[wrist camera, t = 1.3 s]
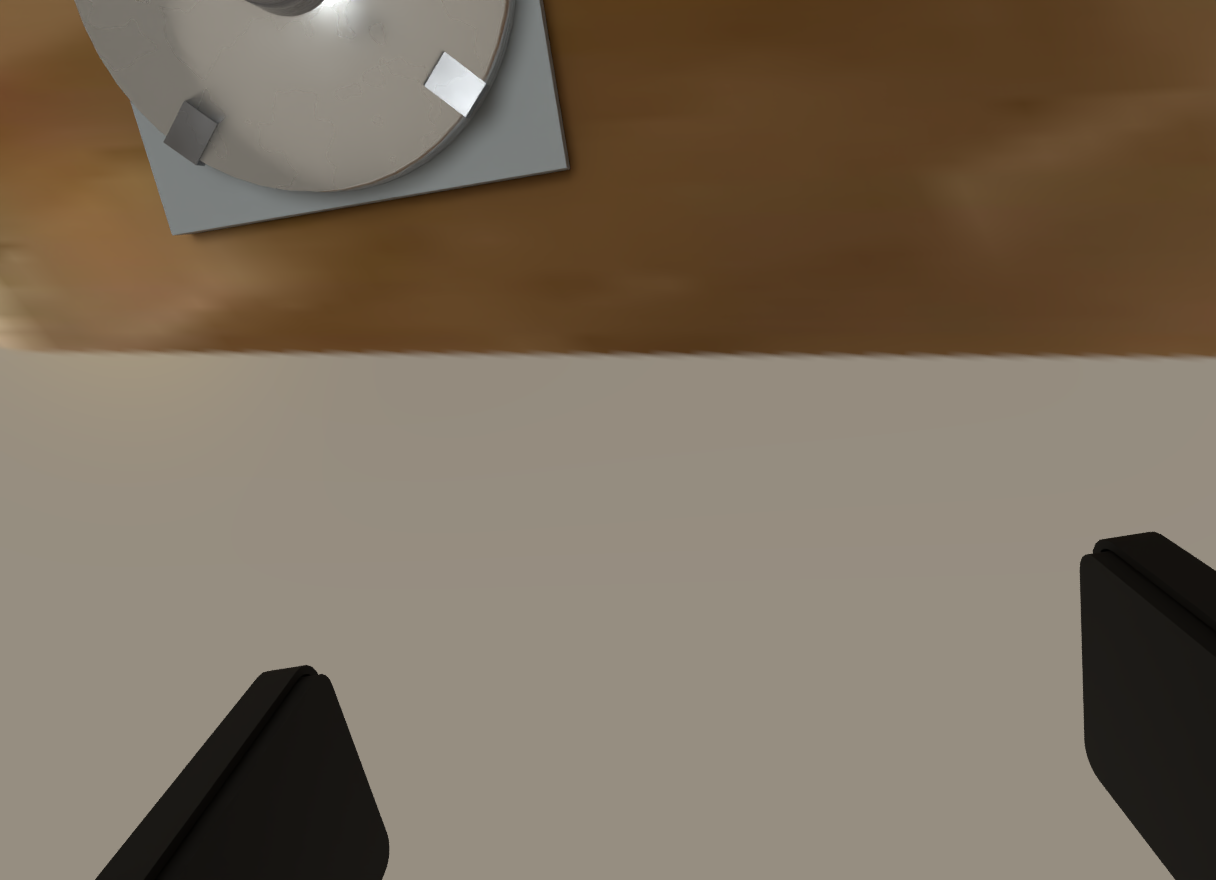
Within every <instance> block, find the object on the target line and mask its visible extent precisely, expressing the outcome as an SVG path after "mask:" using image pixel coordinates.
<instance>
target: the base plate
mask: <svg viewBox="0 0 1216 880" xmlns="http://www.w3.org/2000/svg"><path fill="white" fill-rule="evenodd" d="M130 102H131V101H130ZM131 105H132V108H133V111H134V115H135V118H136V121H137V124H138V127H139V131H140V134H141V137H142V140H143V143H144V146H145V150H146V153H147V156H148V159H149V162H150V166H151V169H152V172H153V175H154V178H155V182H156V185H157V188H158V191H159V194H160V198H161V201H162V204H163V207H164V210H165V214H166V217H167V220H168V223H169V226H170V230H171V233H172V235H183V234H194V233H200V232H206V231H212V230H218V229H224V228H230V227H235V226H241V225H247V224H253V223H259V222H265V221H271V220H276V219H282V218H288V217H294V216H300V215H306V214H311V213H317V212H323V211H329V210H335V209H341V208H347V207H352V206H358V205H364V204H370V203H376V202H382V201H388V200H393V199H399V198H405V197H411V196H417V195H423V194H429V193H434V192H440V191H446V190H452V189H458V188H464V187H470V186H475V185H481V184H487V183H493V182H499V181H505V180H511V179H516V178H522V177H528V176H534V175H540V174H546V173H552V172H557V171H563V170H569V169H570V165H569V159H568V152H567V146H566V140H565V134H564V128H563V122H562V116H561V109H560V103H559V97H558V91H557V85H556V79H555V73H554V67H553V60H552V54H551V48H550V42H549V36H548V30H547V24H546V17H545V11H544V5H543V0H515V9H514V17H513V24H512V28H511V32H510V36H509V40H508V45H507V49H506V52H505V55H504V58H503V60H502V63H501V66H500V68H499V71H498V74H497V76H496V79H495V81H494V83H493V85H492V87H491V88H490V90H489V92H488V94H487V96H486V98H485V100H484V102H483V104H482V105H481V106H480V108H479V109H478V111H477V112H476V113H475V115H474V116H473V118H472V119H471V120H470V122H469V123H468V125H467V126H466V127H465V128H464V129H463V130H462V131H461V132H460V133H459V135H458V136H457V137H456V138H455V139H454V140H453V141H452V142H451V143H450V144H449V145H448V146H447V147H446V148H444V149H443V150H442V151H441V152H439V153H438V154H437V155H436V156H434V157H433V158H432V159H431V160H429V161H428V162H426V163H425V164H423V165H421V166H420V167H418V168H416V169H414V170H413V171H411V172H409V173H408V174H406V175H403V176H401V177H398V178H396V179H394V180H391V181H389V182H386V183H384V184H380V185H376V186H372V187H368V188H364V189H360V190H351V191H341V192H314V191H289V190H282V189H277V188H271V187H265V186H260V185H257V184H254V183H251V182H248V181H244V180H241V179H238V178H235V177H232V176H230V175H228V174H226V173H224V172H222V171H220V170H217V169H215V168H213V167H211V166H209V165H207V164H205V166H198V165H195V164H193V163H192V162H191V161H189V160H188V159H186V158H185V157H183V156H182V155H181V154H179V153H178V152H176V151H175V150H173V149H172V148H171V147H169V146H168V145H166V144H165V143H164V140H165V138H166V136H165V135H164V134H163V133H161V132H160V131H159V130H158V129H157V128H156V127H155V126H154V125H153V124H152V123H151V122H150V121H149V120H148V119H147V118H146V117H145V116H144V115H143V114H142V113H141V112H140V111H139V110H138V109H137V108H136V107H135V106H134V104H133V103H132V102H131Z"/></svg>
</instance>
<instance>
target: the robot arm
mask: <svg viewBox="0 0 1216 880" xmlns="http://www.w3.org/2000/svg"><path fill="white" fill-rule="evenodd" d="M1080 592H1081V593H1080V594H1081V629H1082V630H1081V631H1082V665H1083V666H1082V667H1083V703H1084V737H1085V738H1084V740H1085V749H1086V753H1087V757H1088V759H1089V762H1090V765H1091V767H1092V769H1093V771H1094V773H1095V775H1096V776H1097V778H1098V779H1099V781H1100V782H1101V783H1102V785H1103V786H1104V787H1105V788H1106V790H1107V791H1108V792H1109V794H1110V795H1111V796H1112V798H1113V799H1114V800H1115V802H1116V803H1117V804H1118V805H1119V807H1120V808H1121V809H1122V811H1123V812H1124V813H1125V815H1126V816H1127V817H1128V819H1129V820H1130V821H1131V822H1132V824H1133V825H1134V826H1135V828H1136V829H1137V830H1138V832H1139V833H1140V834H1141V835H1142V837H1143V838H1144V839H1145V841H1146V842H1147V843H1148V844H1149V846H1150V847H1151V848H1152V850H1153V851H1154V852H1155V854H1156V855H1157V856H1158V858H1159V859H1160V860H1161V862H1162V863H1163V864H1164V865H1165V867H1166V868H1167V869H1168V871H1169V872H1170V873H1171V875H1172V876H1173V877H1174V879H1175V880H1216V571H1215V570H1214V569H1212V568H1211V567H1209V566H1208V565H1206V564H1205V563H1203V562H1202V561H1200V560H1199V559H1197V558H1196V557H1194V556H1193V555H1191V554H1190V553H1188V552H1187V551H1185V550H1183V549H1182V548H1180V547H1179V546H1178V545H1176V544H1175V543H1173V542H1172V541H1170V540H1169V539H1167V538H1166V537H1164V536H1163V535H1161V534H1159V533H1156V532H1146V533H1140V534H1133V535H1127V536H1121V537H1114V538H1108V539H1102V540H1099V541H1098V542H1097V543H1096V544H1095V547H1094V549H1093V554H1087V555H1085V556H1083V557H1082V559H1081V562H1080ZM388 859H389V839H388V835H387V832H386V830H385V827H384V824H383V821H382V818H381V816H380V813H379V810H378V808H377V805H376V802H375V799H374V797H373V794H372V792H371V789H370V786H369V783H368V781H367V778H366V775H365V772H364V770H363V767H362V764H361V761H360V759H359V756H358V753H357V751H356V748H355V745H354V743H353V740H352V737H351V735H350V732H349V729H348V726H347V724H346V721H345V718H344V716H343V713H342V710H341V707H340V705H339V702H338V700H337V696H336V694H335V691H334V688H333V686H332V683H331V681H330V679H329V678H328V677H327V676H326V675H323V674H320V675H318V674H317V672H316V670H314V669H313V667H311V666H308V665H304V666H298V667H291V668H286V669H279V670H272V671H267V672H263V673H262V674H261V675H260V676H259V677H258V678H257V679H256V680H255V681H254V682H253V684H252V685H251V686H250V687H249V689H248V690H247V691H246V692H245V694H244V695H243V696H242V697H241V699H240V700H239V701H238V702H237V704H236V705H235V706H234V707H233V709H232V710H231V711H230V712H229V714H228V715H227V716H226V718H225V719H224V720H223V721H222V722H221V723H220V725H219V726H218V727H217V728H216V730H215V731H214V733H212V735H211V736H210V737H209V738H208V740H207V741H206V742H205V743H204V745H203V746H202V747H201V748H200V750H199V751H198V752H197V753H196V755H195V756H194V757H193V758H192V760H191V761H190V762H189V763H188V765H187V766H186V767H185V769H184V770H183V771H182V772H181V773H180V775H179V776H178V777H177V778H176V780H175V781H174V782H173V783H172V785H171V786H170V787H169V788H168V790H167V791H166V792H165V793H164V794H163V796H162V797H161V798H160V799H159V801H158V802H157V803H156V804H155V806H154V807H153V808H152V810H151V811H150V812H149V813H148V814H147V816H146V817H145V818H144V819H143V821H142V822H141V823H140V824H139V826H138V827H137V828H136V829H135V831H134V832H133V833H132V834H131V835H130V837H129V838H128V839H127V841H126V842H125V843H124V844H123V845H122V847H121V848H120V849H119V850H118V852H117V853H116V854H115V855H114V857H113V858H112V859H111V860H110V862H109V863H108V864H107V865H106V867H105V868H104V869H103V870H102V872H101V873H100V874H99V876H98V877H97V878H96V879H95V880H382V878H383V876H384V873H385V870H386V867H387V864H388Z"/></svg>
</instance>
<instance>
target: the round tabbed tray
mask: <svg viewBox="0 0 1216 880" xmlns="http://www.w3.org/2000/svg"><path fill="white" fill-rule="evenodd" d="M75 3H76V6H77V8H78V11H79V14H80V16H81V19H82V21H83V24H84V27H85V29H86V31H87V33H88V35H89V37H90V39H91V41H92V43H93V45H94V47H95V49H96V51H97V53H98V55H99V57H100V58H101V60H102V61H103V63H104V64H105V66H106V67H107V69H108V71H109V72H110V74H111V75H112V77H113V78H114V80H115V81H116V83H117V84H118V86H119V87H120V88H121V89H122V91H123V92H124V93H125V94H126V96H127V97H128V98H129V99H130V101H131V102H132V103H133V104H134V106H135V107H136V108H137V109H138V110H139V111H140V112H141V113H142V114H143V115H144V116H145V117H146V118H147V119H148V120H149V121H150V122H151V123H152V124H153V125H154V126H155V127H156V128H157V129H158V130H159V131H160V132H161V133H163V134H164V135H165V136H166V138H165V140H164V143H165V144H166V145H168V146H169V147H171V148H172V149H173V150H175V151H176V152H178V153H179V154H181V155H182V156H183V157H185V158H186V159H188V160H189V161H191V162H192V163H193V164H195V165H198V166H205V164H207V165H209V166H211V167H213V168H215V169H217V170H220V171H222V172H224V173H226V174H228V175H230V176H232V177H235V178H238V179H241V180H244V181H248V182H251V183H254V184H257V185H260V186H265V187H271V188H277V189H282V190H289V191H314V192H341V191H351V190H360V189H364V188H368V187H372V186H376V185H380V184H384V183H386V182H389V181H391V180H394V179H396V178H398V177H401V176H403V175H406V174H408V173H409V172H411V171H413V170H414V169H416V168H418V167H420V166H421V165H423V164H425V163H426V162H428V161H429V160H431V159H432V158H433V157H434V156H436V155H437V154H438V153H439V152H441V151H442V150H443V149H444V148H446V147H447V146H448V145H449V144H450V143H451V142H452V141H453V140H454V139H455V138H456V137H457V136H458V135H459V133H460V132H461V131H462V130H463V129H464V128H465V127H466V126H467V125H468V123H469V122H470V120H471V119H472V118H473V116H474V115H475V113H476V112H477V111H478V109H479V108H480V106H481V105H482V104H483V102H484V100H485V98H486V96H487V94H488V92H489V90H490V88H491V87H492V85H493V83H494V81H495V79H496V76H497V74H498V71H499V68H500V66H501V63H502V60H503V58H504V55H505V52H506V49H507V45H508V40H509V36H510V32H511V28H512V24H513V17H514V9H515V0H75Z"/></svg>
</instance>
